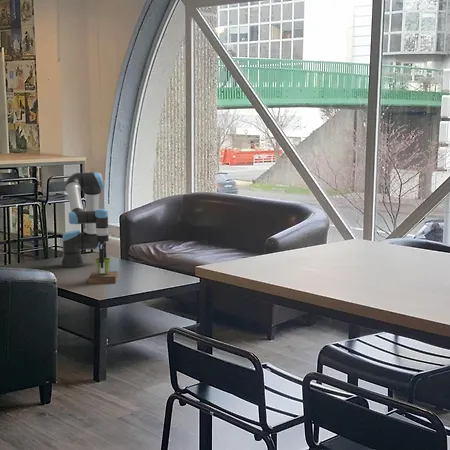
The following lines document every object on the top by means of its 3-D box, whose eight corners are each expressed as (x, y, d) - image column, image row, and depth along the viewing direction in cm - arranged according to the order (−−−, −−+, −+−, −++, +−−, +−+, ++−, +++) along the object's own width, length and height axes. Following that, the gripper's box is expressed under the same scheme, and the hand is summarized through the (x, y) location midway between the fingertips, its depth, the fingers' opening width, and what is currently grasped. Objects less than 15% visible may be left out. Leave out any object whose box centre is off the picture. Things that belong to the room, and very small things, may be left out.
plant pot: (114, 272, 429) (114, 258, 428) (104, 275, 421) (103, 260, 420) (102, 271, 434) (102, 257, 433) (92, 273, 426) (91, 259, 425)
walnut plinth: (92, 278, 436) (92, 271, 435) (118, 277, 436) (118, 271, 436) (88, 283, 420) (88, 277, 419) (115, 283, 420) (115, 276, 420)
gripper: (98, 232, 435) (99, 268, 438) (93, 237, 413) (94, 275, 416) (110, 232, 435) (111, 267, 438) (106, 237, 414) (107, 275, 417)
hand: (103, 271), depth 427 cm, fingers closed on plant pot, 9 cm apart
